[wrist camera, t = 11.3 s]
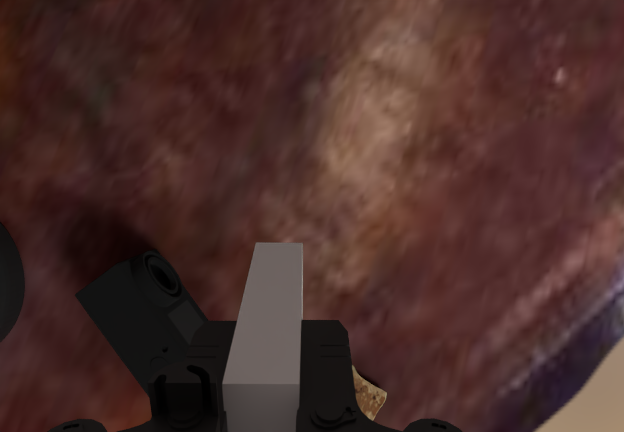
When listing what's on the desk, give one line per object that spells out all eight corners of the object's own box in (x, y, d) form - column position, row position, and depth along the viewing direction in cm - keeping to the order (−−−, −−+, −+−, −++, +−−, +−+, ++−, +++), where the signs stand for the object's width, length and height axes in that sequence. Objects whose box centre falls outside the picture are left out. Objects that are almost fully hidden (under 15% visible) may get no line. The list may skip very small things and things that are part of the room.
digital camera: (237, 337, 42) (215, 370, 35) (188, 371, 42) (157, 409, 35) (167, 239, 42) (130, 253, 35) (118, 275, 42) (73, 295, 35)
